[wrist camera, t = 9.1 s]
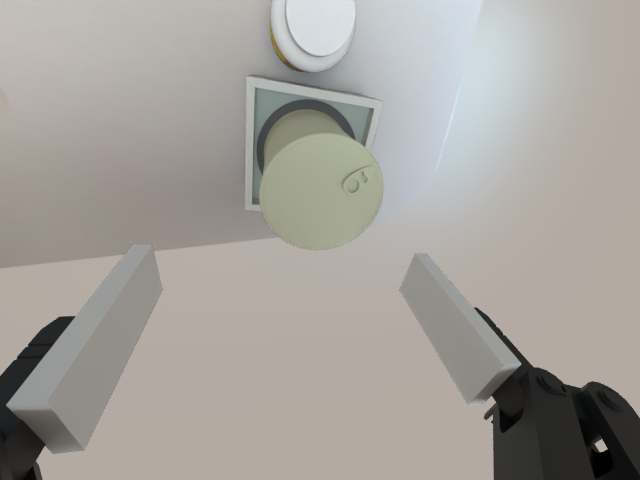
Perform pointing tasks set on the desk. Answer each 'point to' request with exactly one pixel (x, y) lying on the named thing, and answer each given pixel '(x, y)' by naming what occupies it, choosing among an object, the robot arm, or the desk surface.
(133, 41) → the desk surface
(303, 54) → the supplement bottle
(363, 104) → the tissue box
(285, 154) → the can
